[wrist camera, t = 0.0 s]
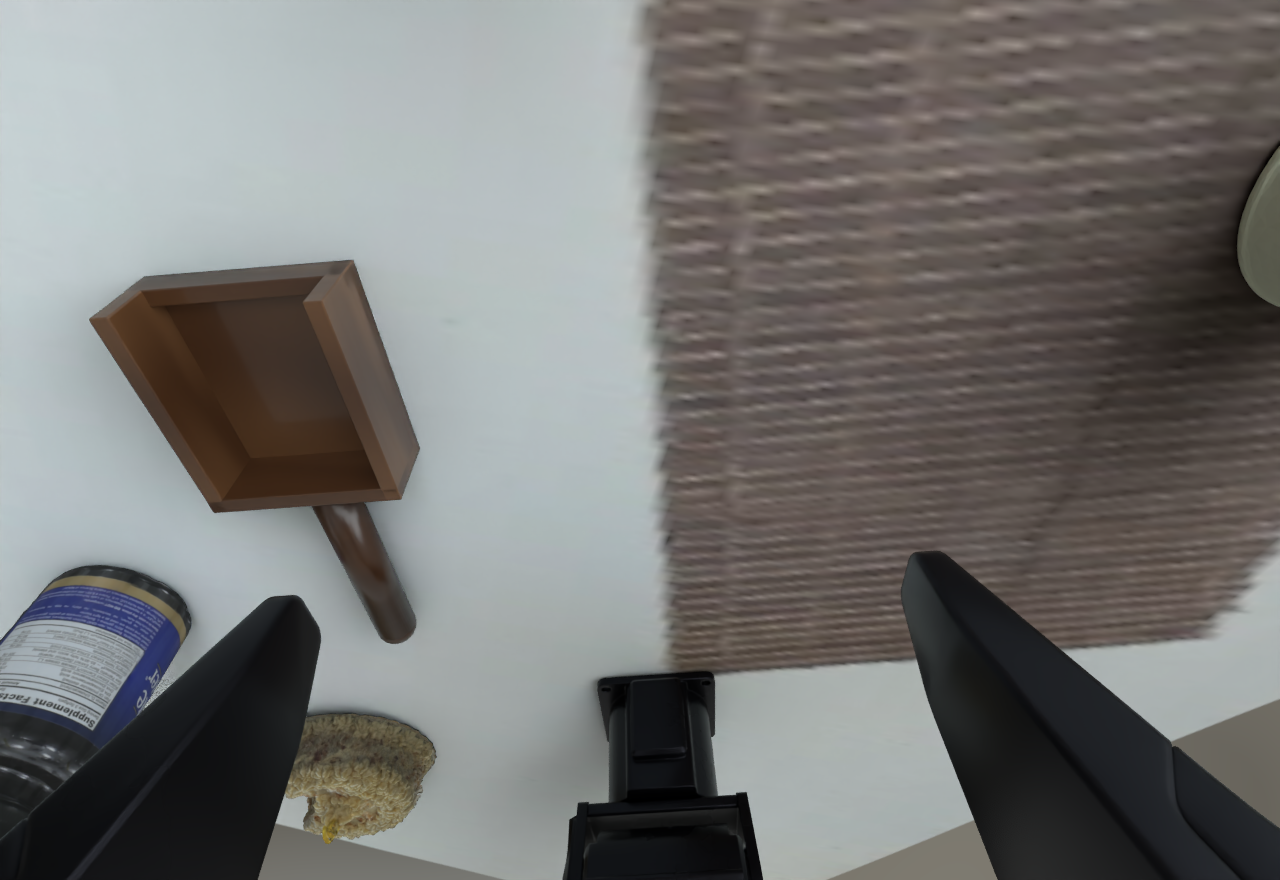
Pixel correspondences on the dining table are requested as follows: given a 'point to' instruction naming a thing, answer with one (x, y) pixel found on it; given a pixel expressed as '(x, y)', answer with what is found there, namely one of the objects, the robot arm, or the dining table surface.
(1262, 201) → the can
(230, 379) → the scoop
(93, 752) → the pill bottle
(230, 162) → the dining table surface
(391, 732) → the cake
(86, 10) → the dining table surface
